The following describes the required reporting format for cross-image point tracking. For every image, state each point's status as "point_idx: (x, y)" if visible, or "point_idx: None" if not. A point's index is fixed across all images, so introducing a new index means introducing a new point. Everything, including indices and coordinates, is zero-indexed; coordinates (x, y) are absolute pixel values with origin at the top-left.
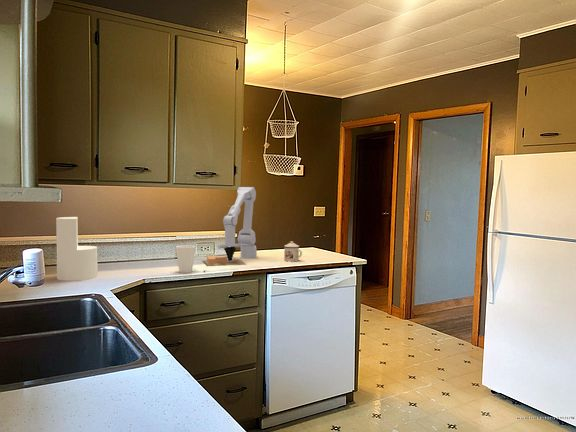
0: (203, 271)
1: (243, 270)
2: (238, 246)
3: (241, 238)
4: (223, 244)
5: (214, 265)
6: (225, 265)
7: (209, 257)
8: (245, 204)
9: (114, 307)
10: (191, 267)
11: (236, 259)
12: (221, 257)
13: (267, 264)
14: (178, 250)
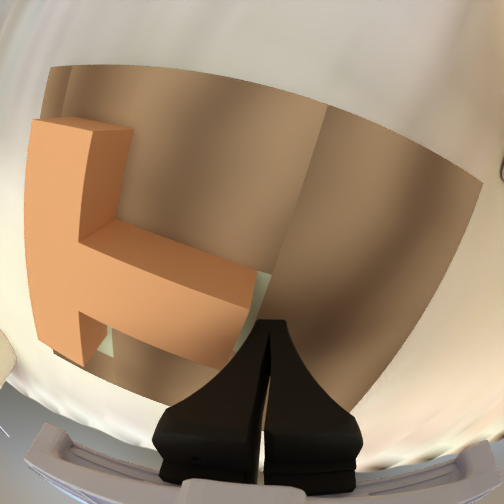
0: (54, 385)
1: None
2: (427, 482)
3: None
4: (110, 500)
5: (94, 365)
6: (167, 404)
7: (34, 260)
8: None
9: (7, 435)
10: (6, 377)
11: (459, 182)
12: (151, 340)
13: (466, 401)
14: None
